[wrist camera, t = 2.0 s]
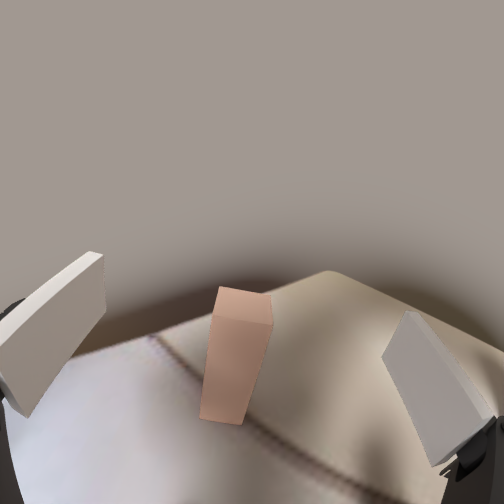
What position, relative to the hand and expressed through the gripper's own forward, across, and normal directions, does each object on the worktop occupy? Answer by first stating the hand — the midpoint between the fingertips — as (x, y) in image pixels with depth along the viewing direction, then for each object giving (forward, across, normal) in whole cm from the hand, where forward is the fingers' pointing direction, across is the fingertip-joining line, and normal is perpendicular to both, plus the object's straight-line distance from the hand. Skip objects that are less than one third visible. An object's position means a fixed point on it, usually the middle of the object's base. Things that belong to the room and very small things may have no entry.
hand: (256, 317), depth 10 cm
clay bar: (+10, 0, -19) cm, 22 cm away
